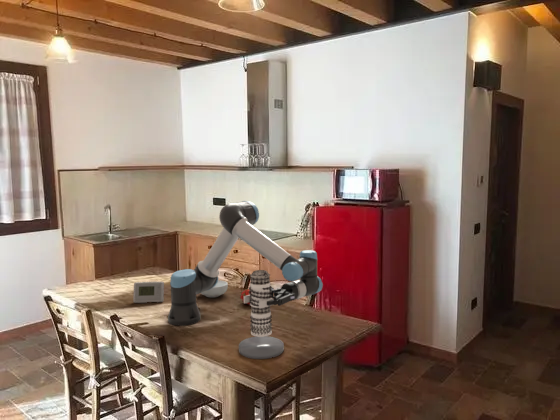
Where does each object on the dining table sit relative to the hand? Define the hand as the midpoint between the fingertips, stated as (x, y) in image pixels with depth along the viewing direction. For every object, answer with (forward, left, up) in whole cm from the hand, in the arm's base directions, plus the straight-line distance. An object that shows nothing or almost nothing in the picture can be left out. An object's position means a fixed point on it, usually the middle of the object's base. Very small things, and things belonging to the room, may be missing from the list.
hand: (251, 302), depth 177 cm
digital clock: (-56, +71, -21) cm, 93 cm away
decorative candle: (+4, +3, -14) cm, 14 cm away
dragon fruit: (-2, +63, -21) cm, 66 cm away
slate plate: (+3, +3, -20) cm, 21 cm away
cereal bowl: (-23, +80, -21) cm, 86 cm away
